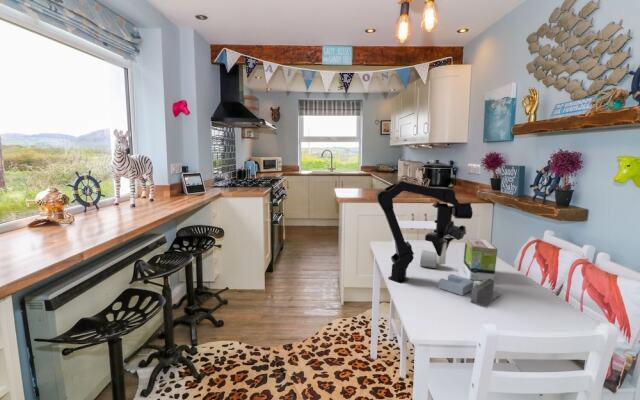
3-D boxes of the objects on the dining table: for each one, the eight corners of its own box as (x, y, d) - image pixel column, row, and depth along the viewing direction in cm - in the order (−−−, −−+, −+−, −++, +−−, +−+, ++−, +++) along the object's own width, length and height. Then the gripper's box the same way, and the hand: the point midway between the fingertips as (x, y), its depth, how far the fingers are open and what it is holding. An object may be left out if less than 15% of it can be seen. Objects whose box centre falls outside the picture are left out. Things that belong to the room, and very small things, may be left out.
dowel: (442, 265, 141) (444, 241, 139) (435, 263, 143) (436, 239, 142) (446, 263, 143) (448, 240, 142) (439, 261, 145) (440, 238, 144)
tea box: (494, 282, 144) (498, 248, 142) (469, 280, 146) (472, 246, 144) (485, 270, 158) (488, 239, 156) (462, 268, 160) (464, 237, 158)
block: (462, 295, 129) (462, 287, 129) (438, 287, 136) (439, 280, 135) (473, 288, 136) (474, 280, 135) (450, 281, 143) (450, 274, 142)
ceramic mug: (437, 270, 156) (439, 254, 155) (419, 267, 159) (420, 251, 158) (439, 264, 166) (440, 248, 165) (421, 261, 169) (422, 246, 168)
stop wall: (485, 307, 120) (486, 293, 120) (470, 302, 124) (471, 289, 123) (501, 294, 131) (502, 282, 130) (487, 290, 135) (489, 278, 134)
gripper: (452, 224, 128) (449, 264, 130) (473, 218, 141) (470, 255, 143) (425, 220, 136) (423, 257, 138) (447, 214, 149) (445, 249, 151)
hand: (441, 255), depth 143 cm, fingers closed on dowel, 3 cm apart
